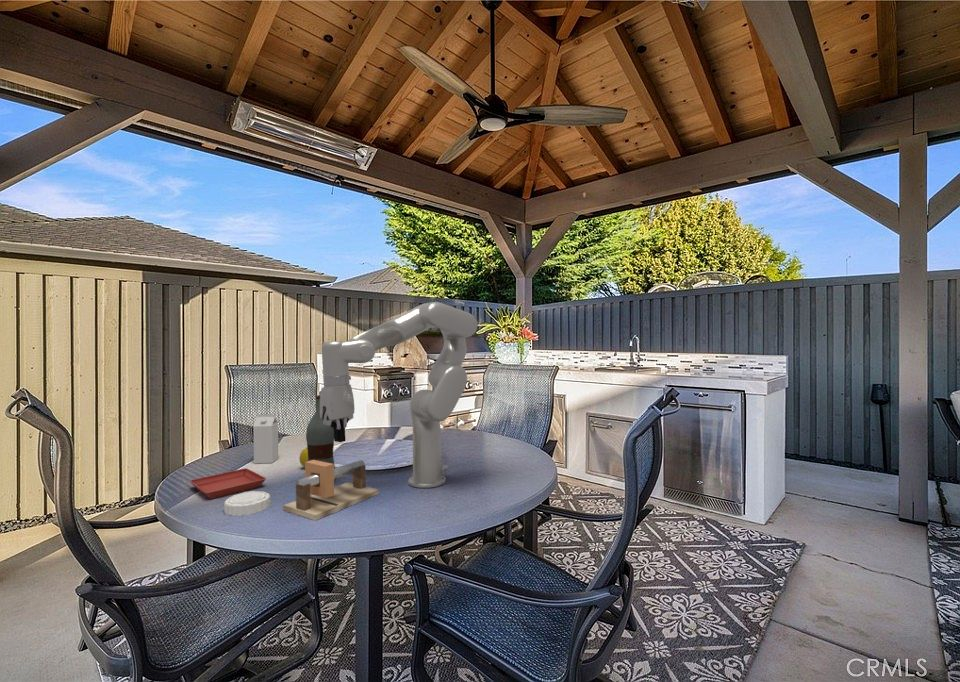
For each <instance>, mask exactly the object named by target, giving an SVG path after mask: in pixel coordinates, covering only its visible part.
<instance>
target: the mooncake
mask: <svg viewBox="0 0 960 682" xmlns="http://www.w3.org/2000/svg"><path fill="white" fill-rule="evenodd" d="M223 503H224V505H223V507H224V508H223V509H224V510H223V511H224V514H226V515H227V516H233V517H236V516H238V517H241V516H249V515H254V514H257V513H261V512H263V511H264V510H267V509H268V508H270V506H271V495H270V493H268V492H266V491H257V490H256V491H255V490H251V491H243V492H240V493H236V494H234V495H233V494H232V496H230V497H228V498H226V499H225V501H224V502H223Z"/></svg>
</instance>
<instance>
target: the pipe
mask: <svg viewBox="0 0 960 682" xmlns="http://www.w3.org/2000/svg"><path fill="white" fill-rule="evenodd" d="M365 464H366V463H365V461H364V460H363V459H359V460H356V461H353V462H349V463H347V464H344V465H340V466H337V467H335V468H334V480H335V479H338V478H341V477H344V476H347V475H350V474H353V472H356V471H359V470H360V467H361V466H364V465H365ZM365 466H366V465H365ZM296 483H297V484H299V485H303V486H304V485H307V484H310V487H312V486H315V485H318V484H320V474H315V475H311V476H308V477H305V476H304V477H302V478H299V479H297V481H296ZM303 486H302V489H303ZM299 488H301V487H299ZM299 488H298V489H299ZM302 489H301V490H302Z"/></svg>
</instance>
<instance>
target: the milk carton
mask: <svg viewBox="0 0 960 682" xmlns="http://www.w3.org/2000/svg"><path fill="white" fill-rule="evenodd" d="M277 419H278V418H276V414H275V413H272V414H270V413H269V414H268V413H266V414H256V418H255V420H254V424H253V463H254V464H255V465H256V464H273V463H274V462H276V461H277V460H278V459H279V422H278V420H277Z"/></svg>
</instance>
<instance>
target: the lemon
mask: <svg viewBox="0 0 960 682" xmlns="http://www.w3.org/2000/svg"><path fill="white" fill-rule="evenodd" d="M307 461H308V450H307V447H305V448H303V449H302V450H301V452H300V455H299V463H300V465H301V466H302V467H304V468H305V462H307Z"/></svg>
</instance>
